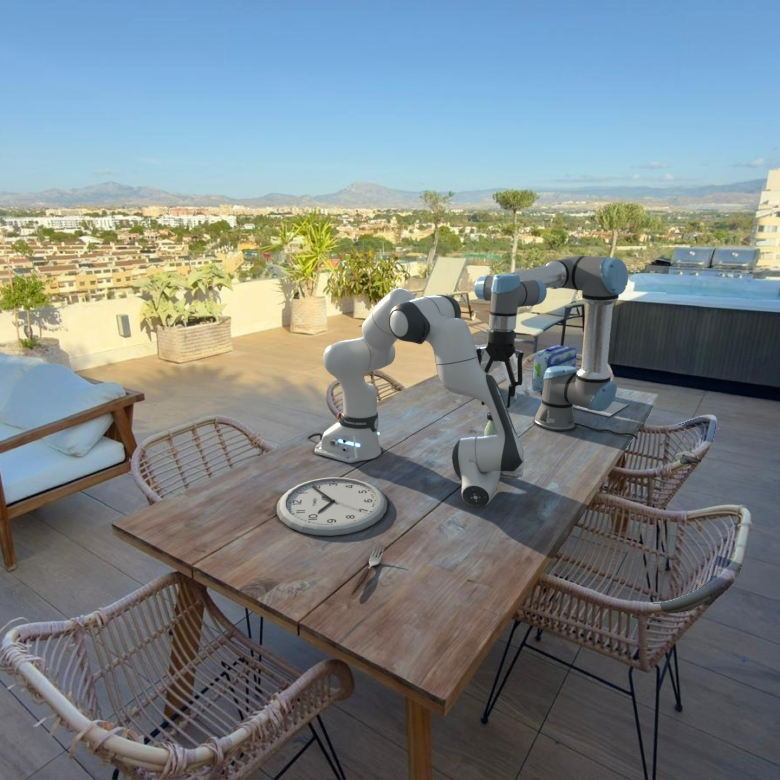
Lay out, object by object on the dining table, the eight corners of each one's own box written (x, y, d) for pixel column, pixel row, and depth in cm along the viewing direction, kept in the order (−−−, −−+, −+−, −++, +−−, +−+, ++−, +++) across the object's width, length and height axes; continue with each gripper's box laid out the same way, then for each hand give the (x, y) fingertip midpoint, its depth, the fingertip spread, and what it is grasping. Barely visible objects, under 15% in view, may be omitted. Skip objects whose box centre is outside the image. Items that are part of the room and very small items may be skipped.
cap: (499, 422, 155) (500, 417, 155) (485, 419, 157) (485, 414, 157) (504, 417, 159) (504, 412, 159) (489, 415, 161) (490, 410, 161)
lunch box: (548, 398, 236) (553, 353, 229) (527, 393, 243) (531, 349, 237) (575, 387, 253) (581, 344, 247) (555, 382, 260) (560, 341, 254)
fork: (346, 594, 108) (346, 586, 107) (374, 552, 122) (374, 544, 122) (357, 598, 107) (357, 589, 107) (385, 554, 121) (385, 547, 121)
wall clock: (392, 527, 129) (268, 531, 127) (391, 533, 130) (269, 537, 127) (383, 473, 158) (282, 475, 155) (383, 478, 158) (282, 480, 156)
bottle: (496, 478, 160) (501, 419, 154) (479, 474, 162) (483, 416, 157) (501, 471, 165) (506, 413, 159) (484, 467, 167) (489, 410, 161)
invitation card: (608, 416, 214) (573, 407, 224) (608, 416, 214) (573, 408, 224) (628, 404, 229) (594, 396, 238) (628, 405, 229) (594, 397, 238)
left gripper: (523, 467, 146) (527, 448, 158) (451, 456, 152) (460, 439, 165) (521, 487, 148) (525, 467, 160) (450, 476, 154) (459, 457, 166)
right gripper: (537, 329, 151) (530, 405, 158) (469, 324, 156) (465, 397, 163) (536, 334, 144) (528, 413, 151) (465, 329, 149) (461, 405, 156)
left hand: (492, 453), depth 162 cm, fingers open, 7 cm apart
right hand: (495, 405), depth 157 cm, fingers open, 7 cm apart
